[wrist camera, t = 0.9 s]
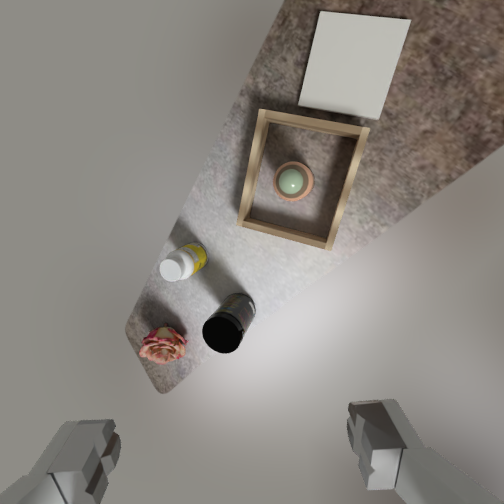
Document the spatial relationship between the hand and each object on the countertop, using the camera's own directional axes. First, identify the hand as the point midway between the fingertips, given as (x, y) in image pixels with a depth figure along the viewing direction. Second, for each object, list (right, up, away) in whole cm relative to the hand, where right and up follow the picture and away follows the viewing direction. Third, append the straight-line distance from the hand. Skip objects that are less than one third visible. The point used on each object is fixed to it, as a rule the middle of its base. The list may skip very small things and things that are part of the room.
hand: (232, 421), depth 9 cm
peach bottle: (+9, +18, +35) cm, 40 cm away
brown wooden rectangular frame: (+9, +18, +35) cm, 40 cm away
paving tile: (+15, +33, +29) cm, 46 cm away
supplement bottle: (-10, +5, +44) cm, 45 cm away
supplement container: (-2, -5, +44) cm, 45 cm away
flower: (-16, -13, +50) cm, 55 cm away
